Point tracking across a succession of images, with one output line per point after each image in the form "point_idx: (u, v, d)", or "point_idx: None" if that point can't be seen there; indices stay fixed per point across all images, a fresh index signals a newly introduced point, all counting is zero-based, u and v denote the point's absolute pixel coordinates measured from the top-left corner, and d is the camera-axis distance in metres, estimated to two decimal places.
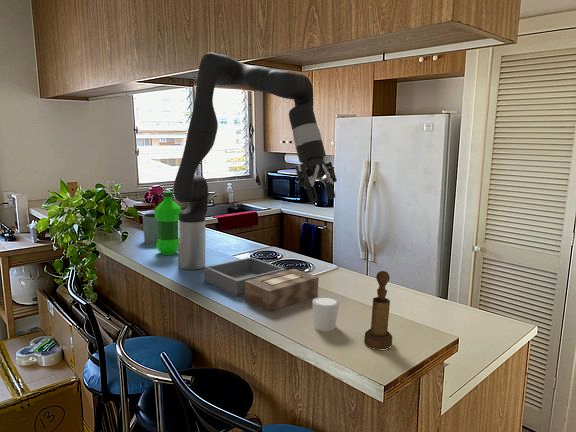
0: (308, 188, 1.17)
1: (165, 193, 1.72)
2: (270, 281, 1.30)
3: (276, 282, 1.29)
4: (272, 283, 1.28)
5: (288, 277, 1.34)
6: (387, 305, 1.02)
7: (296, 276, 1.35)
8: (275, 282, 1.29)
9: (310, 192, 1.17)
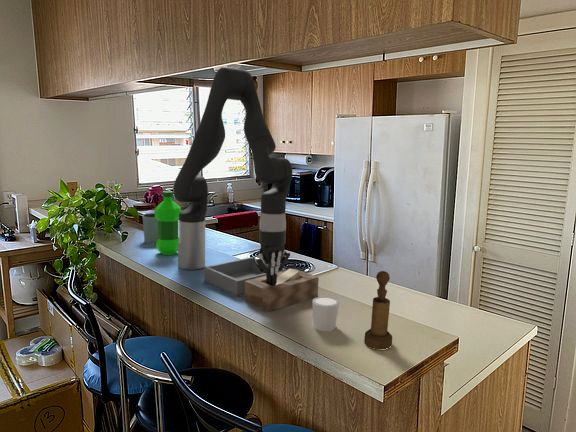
0: (268, 275, 1.28)
1: (165, 193, 1.72)
2: None
3: None
4: None
5: (286, 276, 1.33)
6: (387, 305, 1.02)
7: (294, 272, 1.34)
8: None
9: (268, 279, 1.28)
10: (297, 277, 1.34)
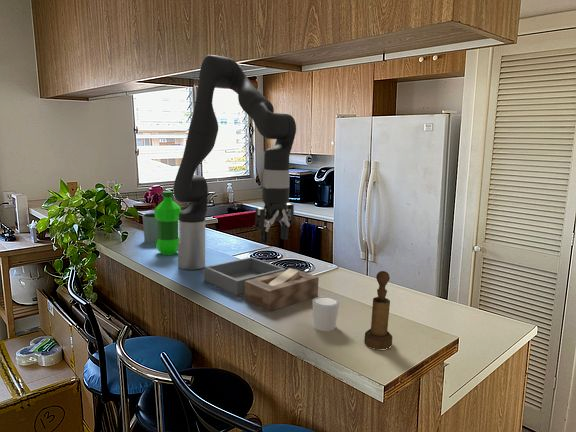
0: (262, 231, 1.23)
1: (165, 193, 1.72)
2: None
3: None
4: None
5: (285, 276, 1.33)
6: (387, 305, 1.02)
7: (293, 271, 1.34)
8: None
9: (263, 236, 1.23)
10: (297, 277, 1.34)
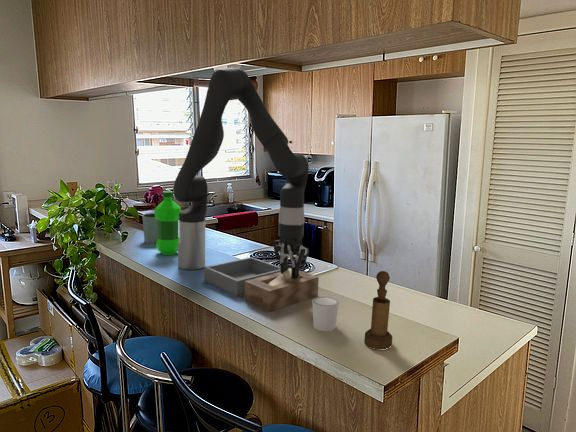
0: (297, 267, 1.31)
1: (165, 193, 1.72)
2: None
3: None
4: None
5: (285, 276, 1.33)
6: (387, 305, 1.02)
7: None
8: None
9: (297, 271, 1.32)
10: None
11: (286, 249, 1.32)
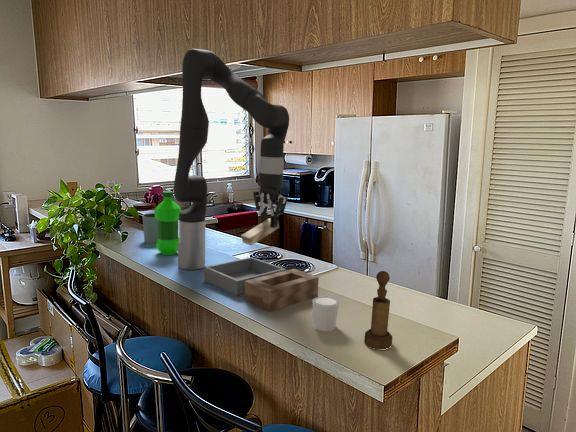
0: (276, 216, 1.36)
1: (165, 193, 1.72)
2: (248, 234, 1.34)
3: (253, 234, 1.33)
4: (249, 236, 1.33)
5: (265, 225, 1.37)
6: (387, 305, 1.02)
7: None
8: (252, 234, 1.33)
9: (276, 220, 1.36)
10: None
11: (266, 199, 1.37)
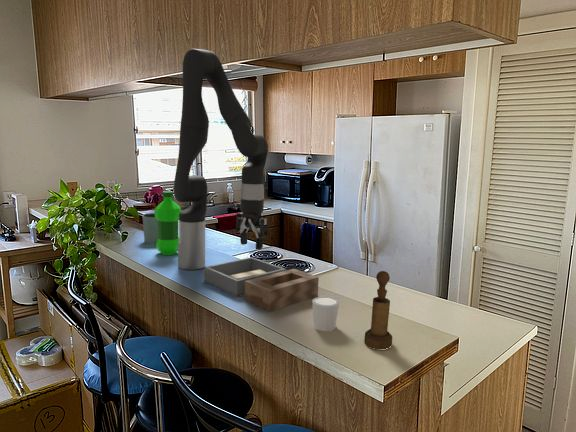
0: (261, 238, 1.42)
1: (165, 193, 1.72)
2: (236, 275, 1.44)
3: (241, 276, 1.43)
4: (237, 277, 1.42)
5: (254, 273, 1.47)
6: (387, 305, 1.02)
7: (262, 272, 1.48)
8: (240, 276, 1.43)
9: (261, 242, 1.42)
10: None
11: (247, 223, 1.44)
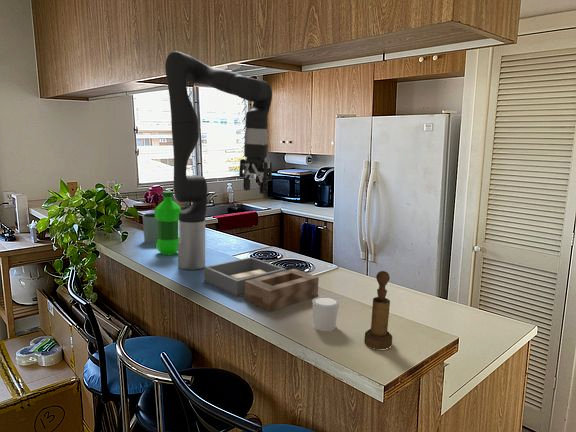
0: (265, 182, 1.43)
1: (165, 193, 1.72)
2: (236, 275, 1.44)
3: (241, 276, 1.43)
4: (237, 277, 1.42)
5: (254, 273, 1.47)
6: (387, 305, 1.02)
7: (262, 272, 1.48)
8: (240, 276, 1.43)
9: (265, 186, 1.44)
10: None
11: (250, 169, 1.47)
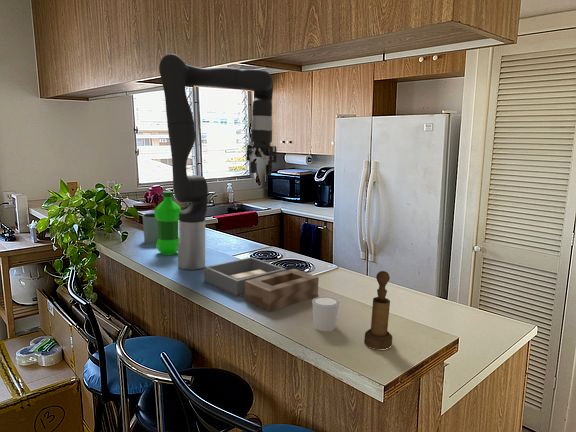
0: (270, 165, 1.58)
1: (165, 193, 1.72)
2: (236, 275, 1.44)
3: (241, 276, 1.43)
4: (237, 277, 1.42)
5: (254, 273, 1.47)
6: (387, 305, 1.02)
7: (262, 272, 1.48)
8: (240, 276, 1.43)
9: (271, 168, 1.58)
10: None
11: (256, 153, 1.61)
